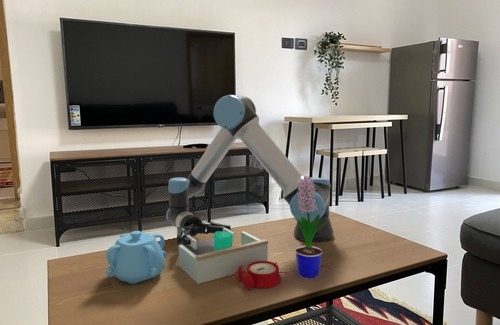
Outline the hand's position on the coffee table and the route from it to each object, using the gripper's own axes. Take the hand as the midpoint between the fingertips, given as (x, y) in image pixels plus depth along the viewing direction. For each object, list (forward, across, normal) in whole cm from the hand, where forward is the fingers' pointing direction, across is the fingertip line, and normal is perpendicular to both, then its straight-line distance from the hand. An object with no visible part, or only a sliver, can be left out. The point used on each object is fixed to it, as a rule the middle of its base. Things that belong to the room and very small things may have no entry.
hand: (215, 240), depth 123 cm
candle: (+4, 0, -7) cm, 8 cm away
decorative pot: (-3, +24, -7) cm, 26 cm away
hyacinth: (+24, -20, -7) cm, 32 cm away
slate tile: (-11, 0, -7) cm, 13 cm away
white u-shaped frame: (+4, 0, -7) cm, 8 cm away
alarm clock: (+19, -4, -7) cm, 21 cm away
